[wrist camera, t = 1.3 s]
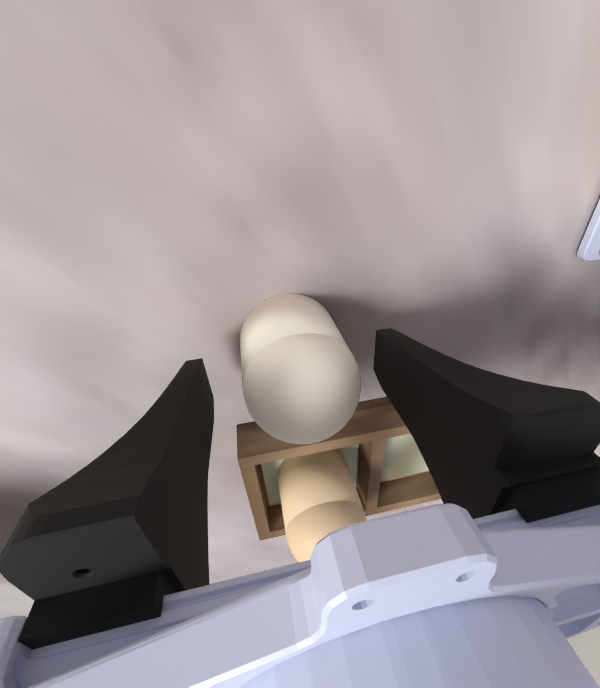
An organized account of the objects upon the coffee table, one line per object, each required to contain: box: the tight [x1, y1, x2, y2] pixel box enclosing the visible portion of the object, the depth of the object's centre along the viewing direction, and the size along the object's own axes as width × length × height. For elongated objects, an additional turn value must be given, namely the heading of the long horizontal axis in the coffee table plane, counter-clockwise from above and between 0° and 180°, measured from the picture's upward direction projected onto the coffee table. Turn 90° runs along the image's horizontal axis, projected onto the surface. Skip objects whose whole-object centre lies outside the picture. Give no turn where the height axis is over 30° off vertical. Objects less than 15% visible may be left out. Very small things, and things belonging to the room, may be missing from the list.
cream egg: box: [240, 294, 361, 444], centre depth 12 cm, size 4×4×6 cm
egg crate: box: [237, 397, 442, 540], centre depth 19 cm, size 14×8×2 cm, turn 94°
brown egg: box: [277, 449, 367, 562], centre depth 17 cm, size 4×4×6 cm
